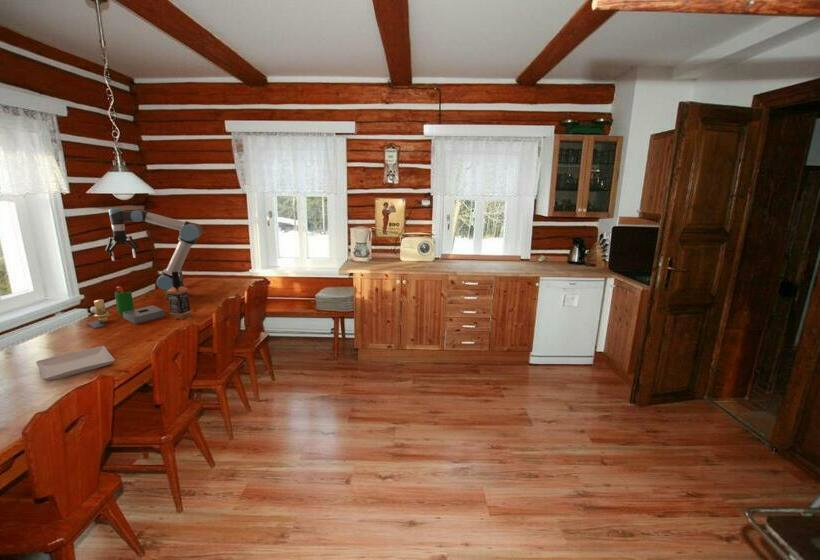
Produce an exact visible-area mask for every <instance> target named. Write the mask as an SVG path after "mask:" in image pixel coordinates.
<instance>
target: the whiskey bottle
mask: <svg viewBox="0 0 820 560" xmlns="http://www.w3.org/2000/svg"><path fill="white" fill-rule="evenodd" d="M172 277H173V280H172V284H173V287H172V288H170V289H169V290H166V292H167V294H168V297H169V300H168V305H169V311H170V312H169V317H170V318H174V319H175V320H176V321H183V320H186V319H188V318H191V317H193V313H192V310H191V305H190V300H189V299H190V298H189V294H188V293H189V290H188V287H185V286H184V287H182V286H181V285H180V280H179V275H178V272H172Z"/></svg>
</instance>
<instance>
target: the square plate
mask: <svg viewBox="0 0 820 560" xmlns="http://www.w3.org/2000/svg"><path fill="white" fill-rule="evenodd" d="M115 360H116V359H115V358H114V357H113V355H112V354H111V353H110V352H109V351H108V349H107V348H106V346H104V345H100V346H96V347H91V348H87V349H81V350H77V351H73V352H68V353H64V354H59V355H56V356H51V357H47V358H43V359H40V360H37V361H36V362H35V364H36V365H37V367H38V370H39V373H40V374H39V375H40V377H41V380H45V381H54V380H56V379H63V378H67V377H71V376H74V375H77V374H81V373H86V372H89V371H92V370H97V369H100V368H102V367H105V366H108V365H109V366H110V365H111V364H113V363H114V362H115Z"/></svg>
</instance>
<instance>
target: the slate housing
mask: <svg viewBox="0 0 820 560" xmlns="http://www.w3.org/2000/svg"><path fill="white" fill-rule="evenodd" d="M165 317H166V312H165V309H163V308H162V307H161V308H160V307H158V306H155V305H153V304H151V305H147V306H143V307H138V308H134V309H133V310H129V311H124V312H123V314H122V318H123V319H124V320H126V321H128V322H130V323H132V324H135V325H136V324H141V323H146V322H149V321H150V322H151V321H153V320H158V319H161V318H165Z"/></svg>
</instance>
